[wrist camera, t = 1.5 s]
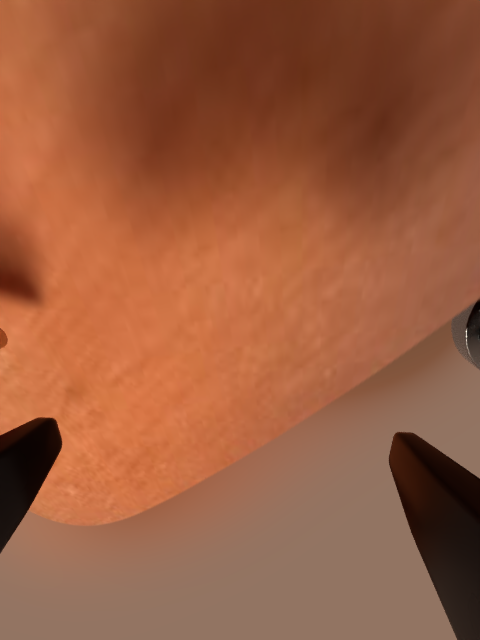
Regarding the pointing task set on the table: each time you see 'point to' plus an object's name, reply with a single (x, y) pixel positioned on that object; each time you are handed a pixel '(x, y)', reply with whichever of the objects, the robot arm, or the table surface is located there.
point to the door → (3, 339)
